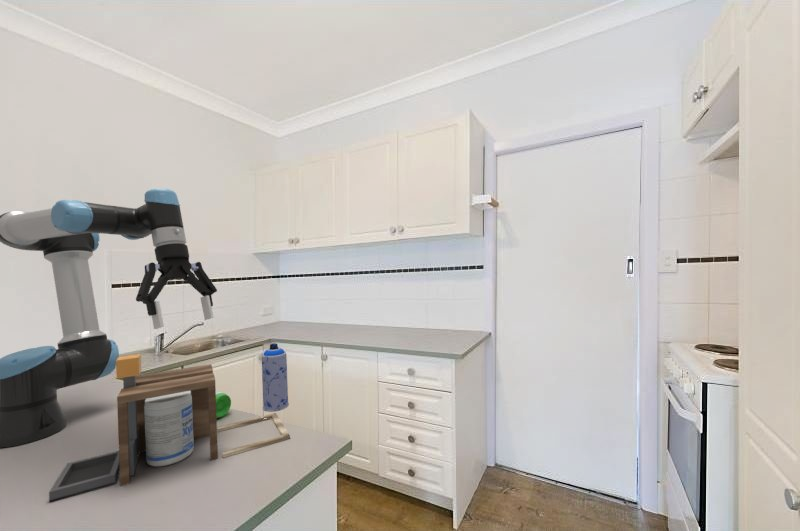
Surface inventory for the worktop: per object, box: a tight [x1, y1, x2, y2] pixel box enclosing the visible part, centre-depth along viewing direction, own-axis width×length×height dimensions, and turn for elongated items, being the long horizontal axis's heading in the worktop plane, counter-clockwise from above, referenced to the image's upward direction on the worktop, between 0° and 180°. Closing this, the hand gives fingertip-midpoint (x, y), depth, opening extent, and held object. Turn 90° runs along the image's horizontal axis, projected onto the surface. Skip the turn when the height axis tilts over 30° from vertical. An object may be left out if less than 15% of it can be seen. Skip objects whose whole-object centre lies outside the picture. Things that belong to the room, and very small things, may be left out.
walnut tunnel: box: [116, 364, 219, 487], centre depth 83 cm, size 16×18×18 cm
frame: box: [217, 412, 291, 459], centre depth 93 cm, size 17×16×1 cm
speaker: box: [216, 390, 232, 419], centre depth 107 cm, size 18×7×8 cm, turn 66°
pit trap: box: [48, 450, 120, 503], centre depth 75 cm, size 12×10×2 cm
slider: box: [115, 353, 142, 476], centre depth 80 cm, size 12×4×24 cm, turn 32°
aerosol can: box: [261, 343, 290, 413], centre depth 111 cm, size 8×8×20 cm
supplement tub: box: [144, 391, 195, 467], centre depth 83 cm, size 10×10×15 cm
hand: (185, 323), depth 92 cm, fingers open, 13 cm apart
